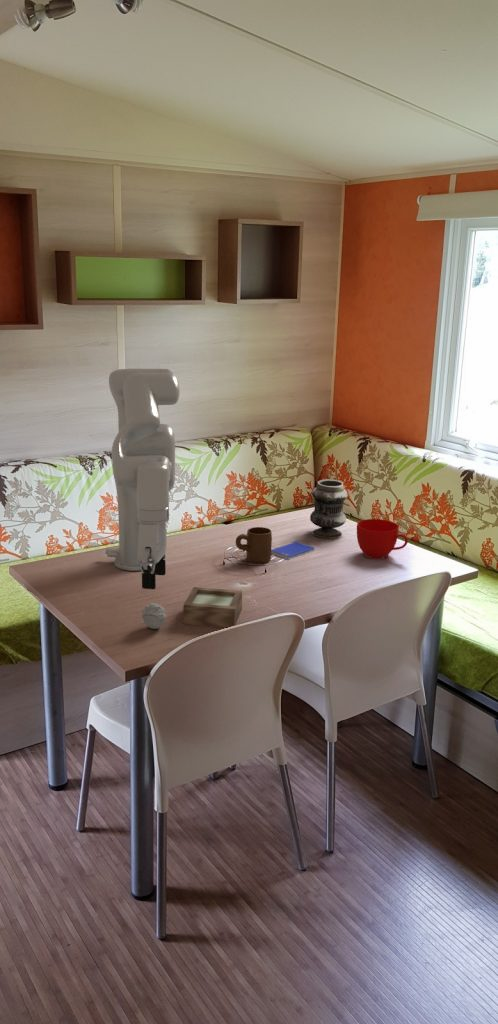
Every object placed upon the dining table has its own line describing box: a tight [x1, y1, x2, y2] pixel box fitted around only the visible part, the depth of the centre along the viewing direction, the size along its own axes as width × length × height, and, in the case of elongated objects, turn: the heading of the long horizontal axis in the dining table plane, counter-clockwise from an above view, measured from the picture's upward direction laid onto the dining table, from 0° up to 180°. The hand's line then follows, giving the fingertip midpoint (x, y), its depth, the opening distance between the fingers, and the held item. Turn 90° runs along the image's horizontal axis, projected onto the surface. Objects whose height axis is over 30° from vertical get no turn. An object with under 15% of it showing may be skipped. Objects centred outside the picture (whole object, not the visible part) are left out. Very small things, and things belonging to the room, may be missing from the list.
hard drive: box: [271, 541, 315, 561], centre depth 266 cm, size 2×8×12 cm
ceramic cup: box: [356, 518, 409, 560], centre depth 262 cm, size 13×17×10 cm
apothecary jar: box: [309, 479, 348, 539], centre depth 281 cm, size 12×12×18 cm
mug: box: [235, 526, 273, 564], centre depth 256 cm, size 12×8×9 cm, turn 121°
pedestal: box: [182, 586, 243, 628], centre depth 216 cm, size 13×12×5 cm
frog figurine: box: [141, 602, 167, 630], centre depth 208 cm, size 6×7×7 cm
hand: (154, 581), depth 205 cm, fingers open, 9 cm apart
